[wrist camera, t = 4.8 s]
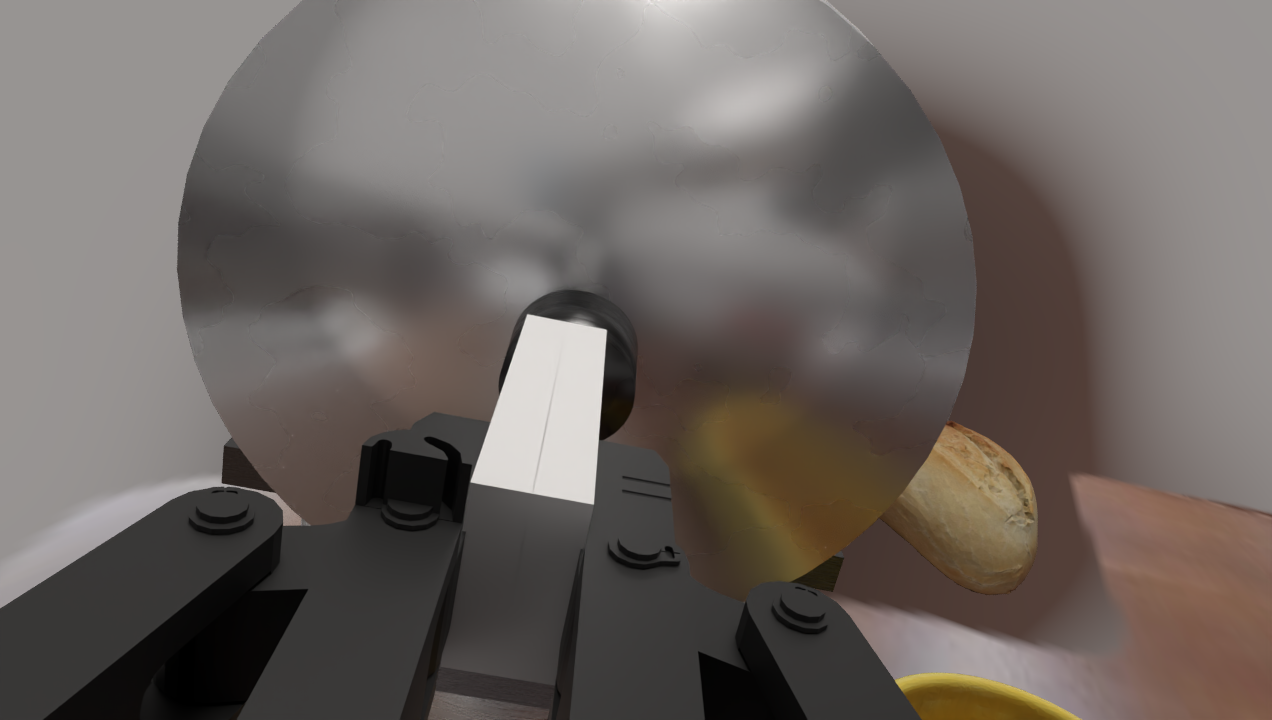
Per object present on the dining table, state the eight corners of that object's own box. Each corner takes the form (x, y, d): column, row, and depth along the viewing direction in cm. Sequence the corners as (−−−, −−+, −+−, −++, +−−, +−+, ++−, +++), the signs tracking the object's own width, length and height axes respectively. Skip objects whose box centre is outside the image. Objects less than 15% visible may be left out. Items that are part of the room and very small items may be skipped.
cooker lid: (1091, 17, 20) (1170, 55, 17) (824, 634, 29) (843, 732, 26) (194, -189, 18) (96, -189, 15) (215, 528, 28) (157, 619, 25)
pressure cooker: (746, 620, 50) (805, 420, 46) (817, 1004, 31) (931, 717, 27) (295, 542, 48) (315, 326, 44) (71, 898, 29) (70, 572, 25)
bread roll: (892, 479, 72) (924, 384, 69) (1059, 594, 60) (1105, 486, 58) (799, 491, 67) (830, 389, 64) (962, 619, 55) (1009, 502, 52)
